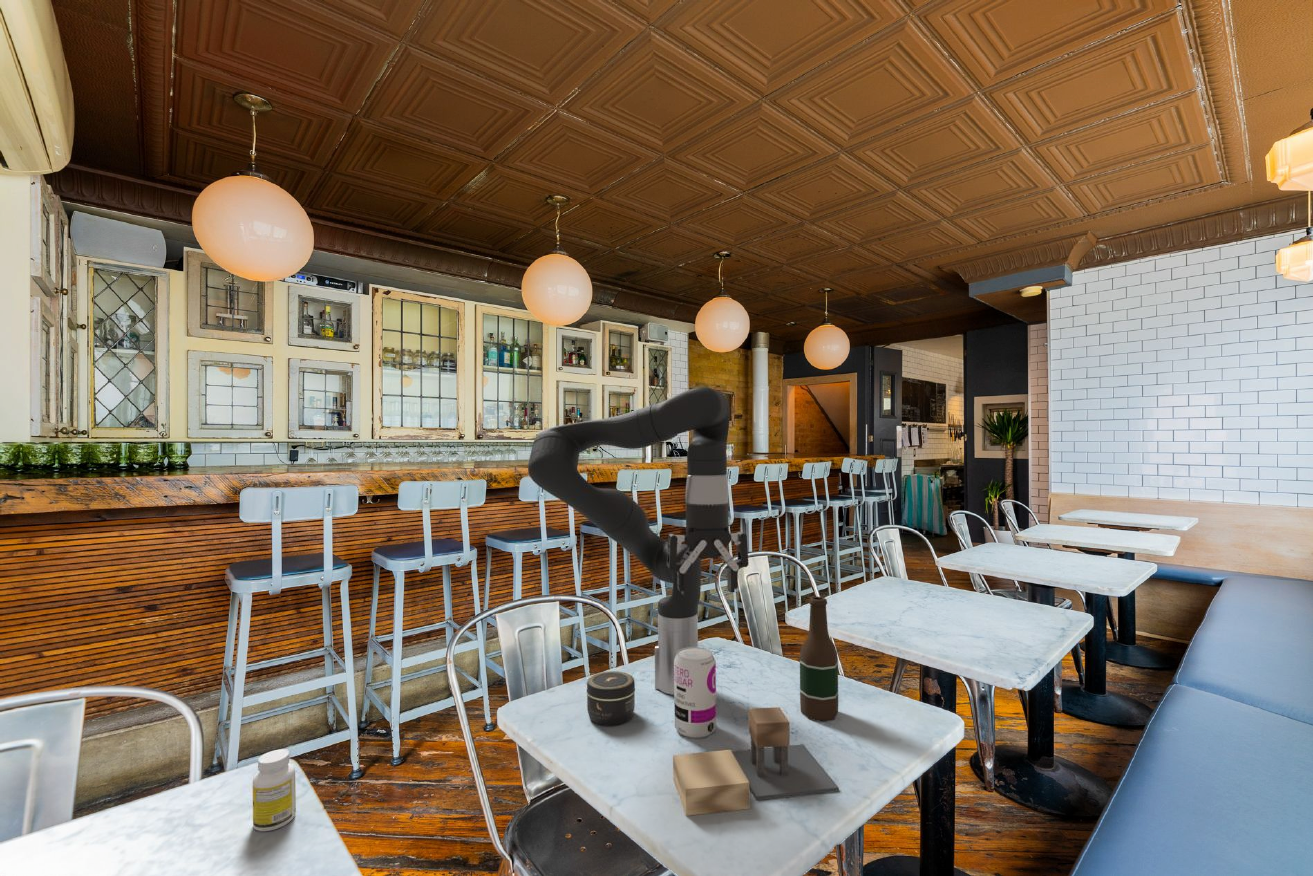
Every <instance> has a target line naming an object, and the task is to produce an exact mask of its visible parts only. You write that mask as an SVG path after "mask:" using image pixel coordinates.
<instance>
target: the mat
mask: <svg viewBox="0 0 1313 876" xmlns="http://www.w3.org/2000/svg"><path fill="white" fill-rule="evenodd" d="M731 752H732V753H733V755H734V757H735V759H736V760H737V762H738V764H739V765H740V767H741V769H742V771H743V772H744V774H745V776H746V778H747V779H748V781H749V792H751V794H752V796H753V798H754V800H755V801H760V800H761V801H762V800H763V801H764V800H770V799H772V800H773V799H780V798H788V797H797V796H806V795H816V794H824V793H832V792H833V793H834V792H840V791H839V790H840V787H839V786H838V784H837V783H836V782H835V781H834V780H833V779H832V778H831V776H830V775H829V773H828V772H827V771H826V770H825V768H824V767H822V765H821V764H820V762H819V761H818V760H817V759H816V758H815V756H813V754H812V753H811V752H810V751H809V750H808V748H807V747H806V746H805V745H804V743H803V744H802V743H801V744H790V746H788V775H786V776H781V774H780V763H775V762H774V760H773V747H764V764H765V777H758V776H757V773H756V764H752V762H751V748H749V749H748V748H747V749H741V750H740V749H739V750H738V749H737V750H731Z"/></svg>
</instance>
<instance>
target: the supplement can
mask: <svg viewBox="0 0 1313 876" xmlns="http://www.w3.org/2000/svg"><path fill="white" fill-rule="evenodd" d="M716 662H717V661H716V659H715V657H714V654H713V652H712V650H710V649H707V648H705V647H701V646H700V647H699V646H698V647H687V648H683V649H681V650H679V651H678V652H677V655H676V657H675V659H674V695H673V697H674V700H673V701H674V728H675V729H676V731H678V733H679V734H680V735H682V736H684V737H687V738H691V739H692V738H693V739H700V738H705V737H709V736H710V735H711V734H713V732H714V731H716V728H717V669H716V668H717V667H716V664H717V663H716Z"/></svg>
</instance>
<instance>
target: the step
mask: <svg viewBox="0 0 1313 876" xmlns="http://www.w3.org/2000/svg"><path fill="white" fill-rule="evenodd" d="M731 751H732V750H731V749H723V750H721V749H720V750H712V751H703V752H702V751H701V752H691V753H682V754H673V755H672V775H673V776H672V780H673V782H674V786H675V789H676V790H677V794H678V797H679V799H680V803H681V805H682V808H683V810H684V811H683V812H684V815H685V817H688V816H697V815H705V814H715V813H721V812H722V813H724V812H732V811H739V810H740V811H741V810H749V809H750V789H749V781H748V779H747V778H746V776H745V774H744V772H743V771H742V769H741V767H740V765H739V764H738V762H737V760H736V759H735V757H734V755H733V753H732V752H731Z"/></svg>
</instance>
